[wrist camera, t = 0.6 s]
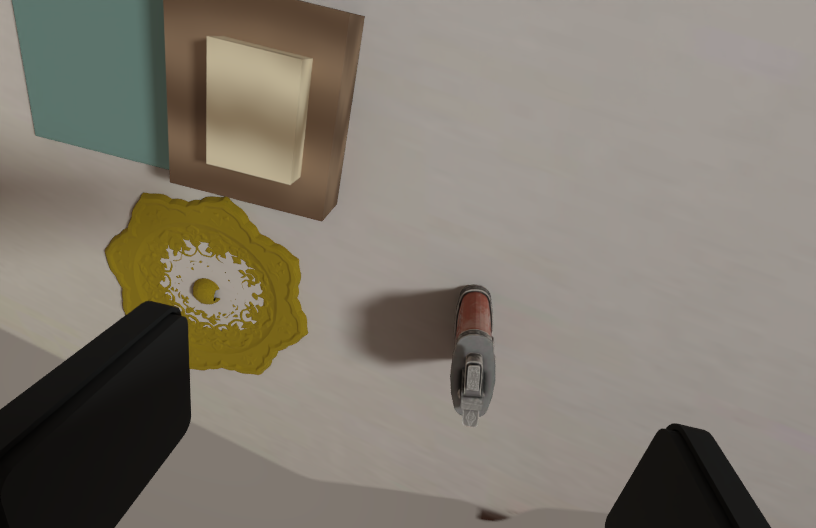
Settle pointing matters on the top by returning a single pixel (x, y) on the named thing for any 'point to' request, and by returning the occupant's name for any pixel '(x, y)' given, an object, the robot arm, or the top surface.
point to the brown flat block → (327, 106)
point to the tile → (256, 108)
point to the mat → (97, 74)
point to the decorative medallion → (224, 231)
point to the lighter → (473, 355)
